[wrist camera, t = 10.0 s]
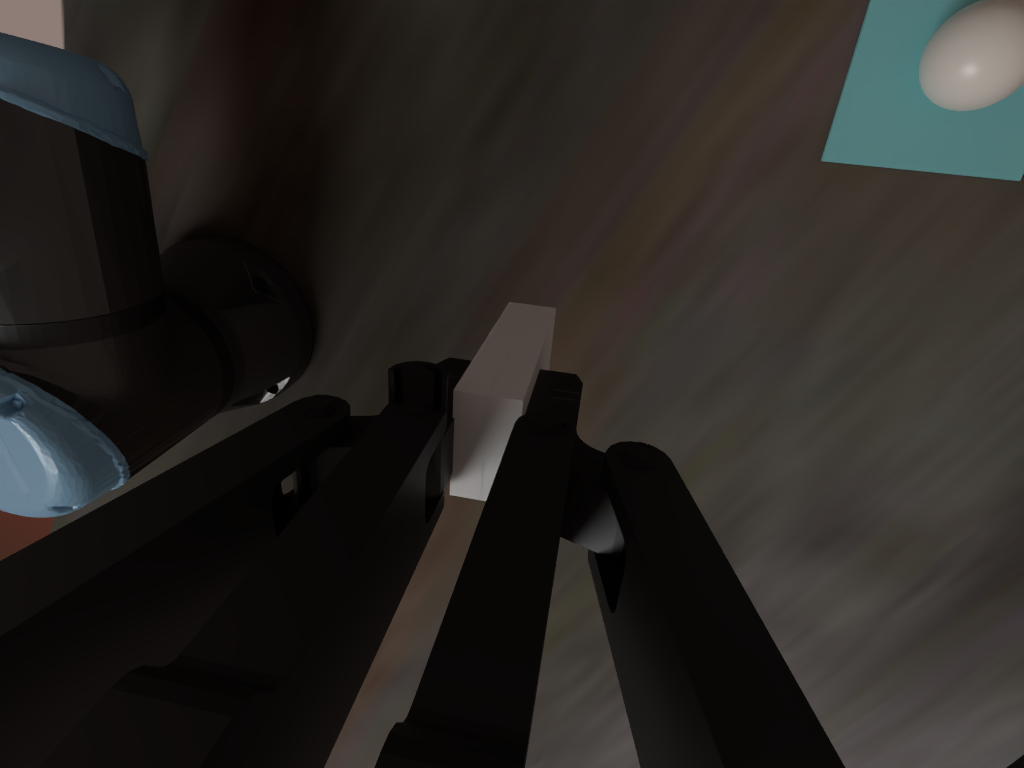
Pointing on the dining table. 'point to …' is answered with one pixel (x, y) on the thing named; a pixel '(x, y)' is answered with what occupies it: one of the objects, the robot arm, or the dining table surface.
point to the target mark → (917, 104)
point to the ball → (975, 56)
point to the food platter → (1018, 763)
